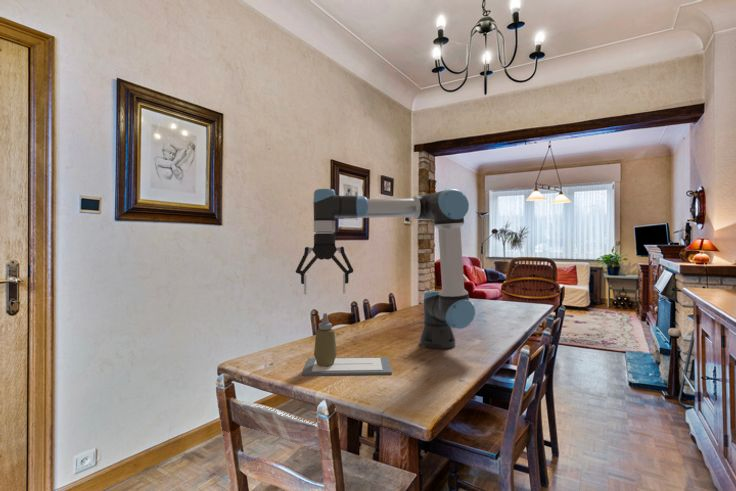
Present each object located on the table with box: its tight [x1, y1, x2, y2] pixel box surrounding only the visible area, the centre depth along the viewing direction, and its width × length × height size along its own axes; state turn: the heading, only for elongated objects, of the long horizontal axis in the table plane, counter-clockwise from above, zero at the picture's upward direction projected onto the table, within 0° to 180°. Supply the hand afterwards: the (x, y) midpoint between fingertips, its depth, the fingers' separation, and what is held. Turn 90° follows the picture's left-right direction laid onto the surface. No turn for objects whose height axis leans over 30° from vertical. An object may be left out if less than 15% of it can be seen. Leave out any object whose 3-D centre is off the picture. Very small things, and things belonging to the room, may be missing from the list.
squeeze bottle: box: [313, 313, 338, 366], centre depth 137 cm, size 8×8×18 cm
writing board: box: [301, 356, 393, 377], centre depth 137 cm, size 30×16×1 cm, turn 92°
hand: (325, 293), depth 137 cm, fingers open, 13 cm apart
